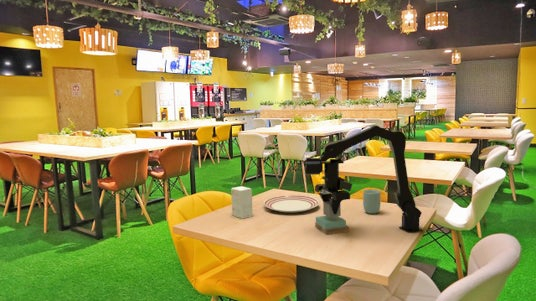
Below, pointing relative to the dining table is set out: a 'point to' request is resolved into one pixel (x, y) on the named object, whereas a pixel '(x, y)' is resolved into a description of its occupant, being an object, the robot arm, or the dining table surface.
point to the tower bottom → (332, 231)
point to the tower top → (330, 222)
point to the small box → (241, 202)
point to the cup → (371, 201)
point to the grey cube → (330, 210)
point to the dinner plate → (291, 203)
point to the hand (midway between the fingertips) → (331, 212)
